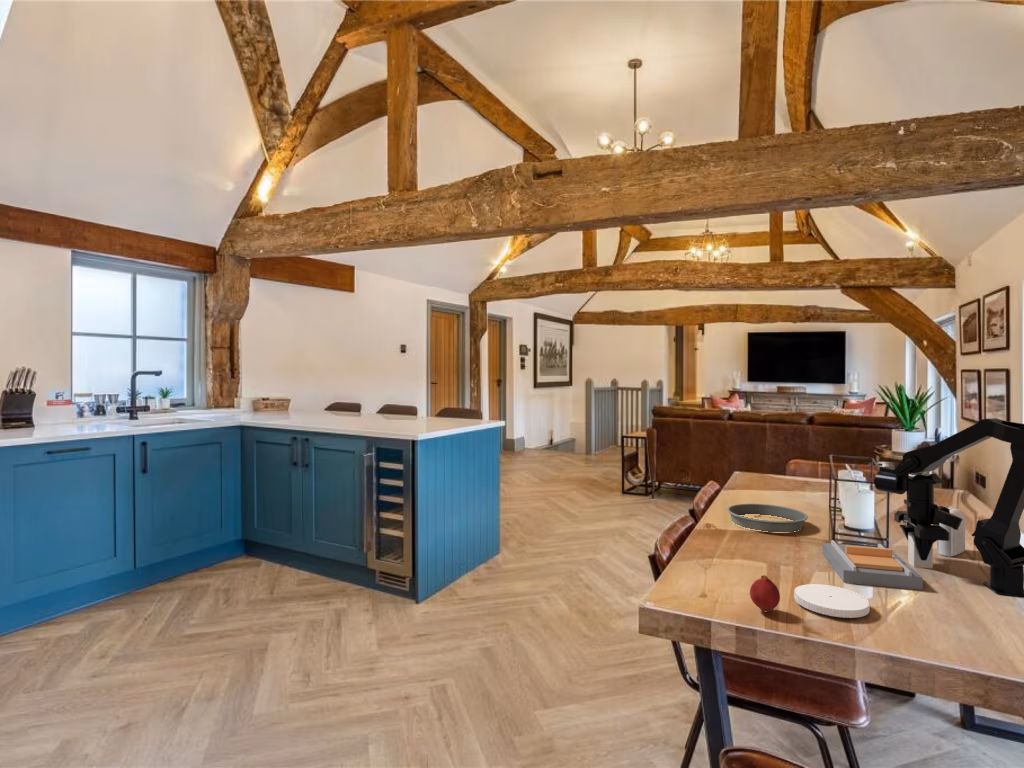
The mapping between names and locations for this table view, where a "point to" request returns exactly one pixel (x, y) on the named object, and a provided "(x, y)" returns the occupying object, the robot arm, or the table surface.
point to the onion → (764, 594)
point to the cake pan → (767, 525)
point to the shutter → (872, 558)
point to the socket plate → (870, 570)
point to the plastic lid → (832, 600)
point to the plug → (914, 556)
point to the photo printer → (953, 537)
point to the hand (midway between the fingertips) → (920, 557)
